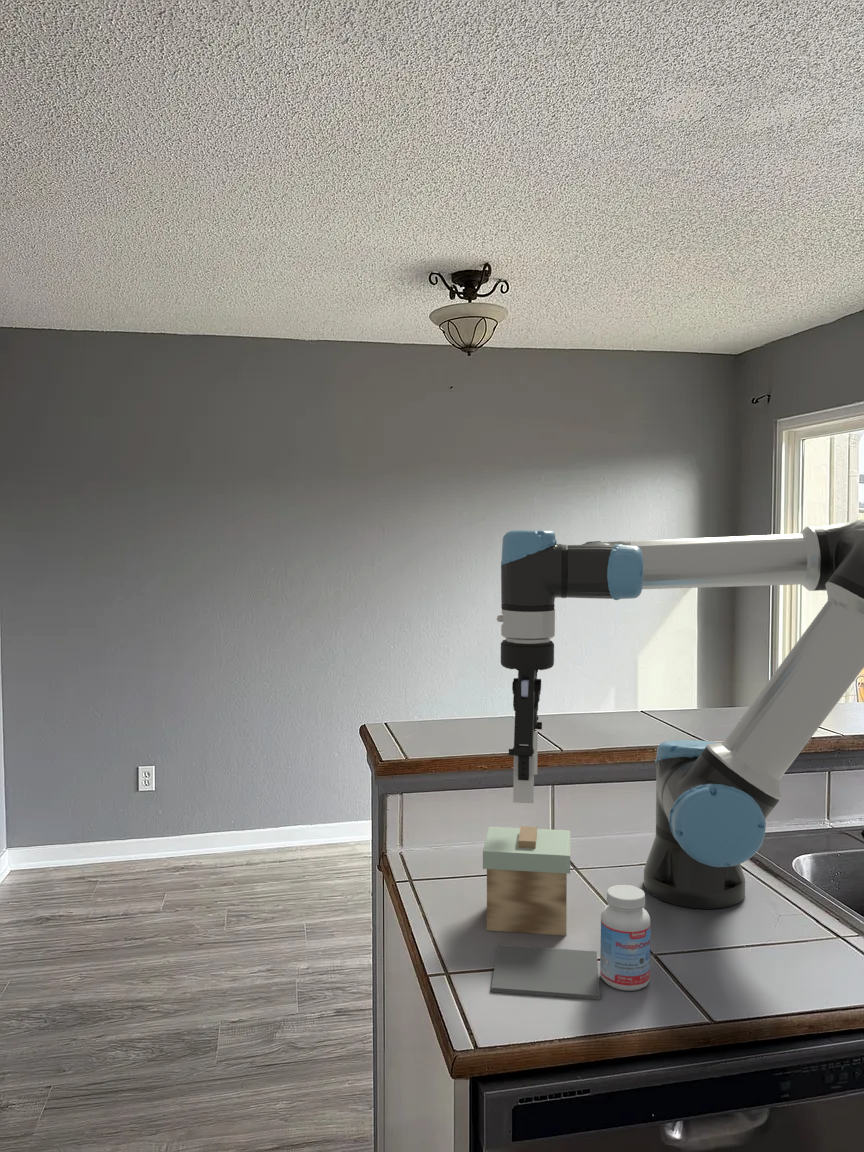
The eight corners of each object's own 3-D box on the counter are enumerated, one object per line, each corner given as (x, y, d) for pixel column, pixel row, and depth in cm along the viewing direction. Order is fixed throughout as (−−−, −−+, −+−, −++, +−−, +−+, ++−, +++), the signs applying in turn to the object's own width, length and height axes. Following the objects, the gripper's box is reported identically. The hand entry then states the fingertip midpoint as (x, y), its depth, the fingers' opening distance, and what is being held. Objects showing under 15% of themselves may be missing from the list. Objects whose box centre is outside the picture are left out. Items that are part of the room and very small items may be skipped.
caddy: (566, 907, 131) (566, 847, 131) (566, 935, 122) (566, 871, 122) (492, 902, 133) (492, 844, 132) (486, 930, 124) (486, 867, 123)
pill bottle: (619, 997, 107) (619, 906, 106) (590, 973, 112) (591, 886, 111) (660, 986, 109) (661, 897, 108) (630, 963, 115) (631, 878, 114)
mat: (596, 955, 117) (596, 951, 117) (599, 999, 106) (599, 995, 106) (498, 948, 119) (498, 944, 119) (491, 991, 108) (491, 987, 108)
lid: (570, 846, 131) (570, 823, 131) (570, 873, 121) (570, 848, 121) (489, 842, 133) (489, 819, 133) (482, 868, 123) (482, 844, 123)
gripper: (507, 628, 138) (505, 762, 139) (493, 651, 113) (492, 814, 115) (555, 629, 137) (553, 764, 138) (552, 653, 112) (550, 817, 114)
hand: (525, 787), depth 126 cm, fingers open, 13 cm apart
